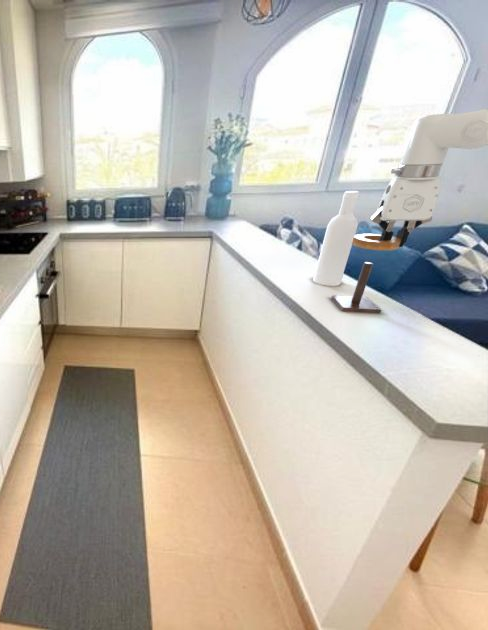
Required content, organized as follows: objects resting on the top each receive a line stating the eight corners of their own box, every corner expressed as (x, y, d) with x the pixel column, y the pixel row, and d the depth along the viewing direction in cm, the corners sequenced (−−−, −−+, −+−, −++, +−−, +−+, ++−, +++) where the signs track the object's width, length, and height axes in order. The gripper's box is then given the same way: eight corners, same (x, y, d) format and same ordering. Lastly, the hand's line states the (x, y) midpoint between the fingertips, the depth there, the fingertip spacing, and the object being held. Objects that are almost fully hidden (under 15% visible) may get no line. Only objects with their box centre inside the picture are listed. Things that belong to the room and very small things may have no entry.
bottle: (346, 286, 115) (375, 192, 102) (322, 287, 115) (348, 193, 102) (330, 277, 122) (355, 189, 109) (307, 279, 122) (330, 190, 109)
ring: (386, 241, 96) (389, 233, 95) (406, 250, 88) (409, 243, 87) (346, 240, 99) (348, 233, 98) (361, 249, 91) (364, 242, 90)
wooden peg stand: (365, 301, 104) (380, 258, 98) (379, 314, 96) (397, 268, 90) (330, 299, 107) (343, 257, 101) (342, 312, 99) (356, 267, 93)
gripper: (385, 174, 83) (361, 248, 91) (470, 171, 79) (437, 250, 87) (371, 172, 90) (349, 241, 98) (449, 169, 85) (419, 242, 93)
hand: (391, 245), depth 92 cm, fingers closed on ring, 2 cm apart
